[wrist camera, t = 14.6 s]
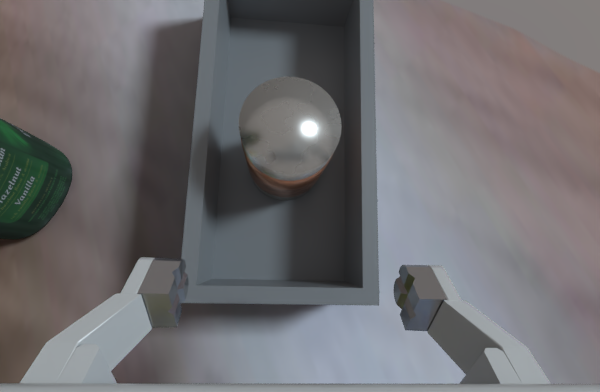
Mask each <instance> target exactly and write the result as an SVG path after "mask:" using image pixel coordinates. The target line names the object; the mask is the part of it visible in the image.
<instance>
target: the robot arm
mask: <svg viewBox="0 0 600 392" xmlns="http://www.w3.org/2000/svg"><path fill="white" fill-rule="evenodd" d="M185 268H186V263H185V260H184V259H174V258H150V257H141V258H140V259H139V260H138V261H137V263H136V264H135V266H134V268H133V270H132V272H131V274H130V276H129V278H128V279H127V281H126V283H125V285H124V287H123V289H122V291H121V293H120V294H114V295H113V296H112V297H110V298H109V299H107V300H106V301H104V302H103V303H102V304H100V305H99V306H97V307H96V308H95V309H93V310H92V311H90V312H89V313H87V314H86V315H85V316H83V317H82V318H80V319H79V320H78V321H76V322H75V323H73V324H72V325H70V326H69V327H68V328H66V329H65V330H63V331H62V332H61V333H59V334H58V335H56V336H55V337H53V338H52V339H51V340H49V341H48V342H46V344H45V345H44V347H43V348H42V350H41V352H40V353H39V355H38V356H37V358H36V359H35V361H34V362H33V364H32V365H31V367H30V368H29V370H28V371H27V373H26V374H25V376H24V377H23V379H22V380H21V382H20V383H0V392H600V384H551V383H550V382H549V380H548V378H547V377H546V375H545V374H544V372H543V371H542V369H541V368H540V366H539V365H538V363H537V361H536V360H535V358H534V357H533V355H532V354H531V352H530V351H529V349H528V348H527V347H526V346H525V345H523V344H522V343H521V342H520V341H518V340H517V339H516V338H514V337H513V336H512V335H510V334H509V333H508V332H506V331H505V330H504V329H502V328H501V327H500V326H498V325H497V324H496V323H494V322H493V321H492V320H491V319H489V318H488V317H487V316H485V315H484V314H483V313H481V312H480V311H479V310H477V309H476V308H475V307H473V306H472V305H471V304H469V303H468V302H467V301H462V300H461V298H460V296H459V294H458V292H457V291H456V289H455V287H454V285H453V283H452V281H451V280H450V278H449V276H448V274H447V272H446V271H445V269H444V267H442V266H433V265H428V266H427V265H402V266H401V267H400V270H399V274H400V277H399V278H397V279H396V281H395V284H394V297H395V301H396V304H397V305H398V306H399V307H400V308H401V309H402V310H401V313H400V316H401V319H402V322H403V325H404V328H405V330H414V331H428V333H429V335H430V336H431V337H432V338H433V339H434V340H435V341H436V342H437V343H438V344H439V345H440V347H441V348H442V349H443V350H444V351H445V352H446V353H447V354H448V355H449V356H450V357H451V359H452V360H453V361H454V362H455V363H456V364H457V365H458V366H459V367H460V368H461V369H462V370H463V372H464V373H465V374H466V376H465V377H464V378H463V380H462V381H461V382H460V384H117V382H116V380H115V378H114V376H113V374H112V372H111V370H112V369H113V368H114V367H115V366H116V365H117V364H118V363H119V362H120V361H121V360H122V359H123V358H124V357H125V356H126V355H127V354H128V353H129V352H130V351H131V350H132V349H133V348H134V347H135V346H136V345H137V344H138V343H139V342H140V341H141V340H142V339H143V338H144V337H145V336H146V335H147V334H148V333H149V332H150V330H151V329H152V327H177V325H178V322H179V319H180V315H181V312H182V308H181V303H182V302H184V301H185V300H186V296H187V293H188V286H189V279H188V274H187V273H185V272H184V271H185Z"/></svg>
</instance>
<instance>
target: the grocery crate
mask: <svg viewBox="0 0 600 392" xmlns="http://www.w3.org/2000/svg"><path fill="white" fill-rule="evenodd" d="M278 77H299V78H303V79H306V80H309V81H311V82H313V83H315V84H317V85H318V86H320V87H321V88H323V89H324V90H325V91H326V92H327V93H328V94H329V95H330V96H331V98H332V99H333V100H334V102H335V104H336V106H337V108H338V110H339V113H340V117H341V126H342V127H341V136H340V140H339V143H338V145H337V147H336V149H335V151H334V153H333V155H332V157H331V159H330V161H329V163H328V164H327V166H326V167H325V169H324V171H323V172H322V174H321V175H320V177H319V179H318V180H317V182H316V183H315V184H314V185H313V187H312V188H311V189H310V190H309V191H308V192H307V193H306V194H304V195H303V196H301V197H299V198H296V199H293V200H277V199H274V198H271V197H269V196H267V195H265V194H264V193H262V192H261V191H260V190H259V189H258V188H257V186H256V185H255V183H254V182H253V179H252V177H251V175H250V172H249V169H248V165H247V162H246V158H245V155H244V151H243V147H242V143H241V137H240V132H239V115H240V111H241V108H242V105H243V103H244V101H245V100H246V98H247V97H248V95H249V94H250V93H251V92H252V91H253V90H254V89H255V88H256V87H258V86H259V85H261V84H262V83H264V82H266V81H268V80H271V79H274V78H278ZM181 259H184V260H185V263H186V268H185V271H184V272H185V273H187V274H188V279H189V286H188V293H187V296H186V300H185V301H184V302H182V303H225V304H306V305H379V272H378V221H377V169H376V117H375V66H374V14H373V0H205V1H204V12H203V23H202V34H201V45H200V56H199V67H198V78H197V89H196V100H195V111H194V123H193V134H192V145H191V156H190V167H189V178H188V189H187V200H186V211H185V222H184V233H183V244H182V255H181Z"/></svg>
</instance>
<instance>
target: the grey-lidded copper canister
mask: <svg viewBox="0 0 600 392" xmlns="http://www.w3.org/2000/svg"><path fill="white" fill-rule="evenodd" d="M341 127H342V126H341V117H340V113H339V110H338V108H337V106H336V104H335V102H334V100H333V99H332V98H331V96H330V95H329V94H328V93H327V92H326V91H325V90H324V89H323V88H321V87H320V86H318V85H317V84H315V83H313V82H311V81H309V80H306V79H303V78H299V77H278V78H274V79H271V80H268V81H266V82H264V83H262V84H261V85H259V86H258V87H256V88H255V89H254V90H253V91H252V92H251V93H250V94H249V95H248V97H247V98H246V100H245V101H244V103H243V105H242V108H241V111H240V115H239V132H240V137H241V143H242V147H243V151H244V155H245V158H246V162H247V165H248V169H249V172H250V175H251V177H252V179H253V182H254V183H255V185H256V186H257V188H258V189H259V190H260V191H261V192H262V193H264V194H265V195H267V196H269V197H271V198H274V199H277V200H293V199H296V198H299V197H301V196H303V195H304V194H306V193H307V192H308V191H309V190H310V189H311V188H312V187H313V185H314V184H315V183H316V182H317V180H318V179H319V177H320V175H321V174H322V172H323V171H324V169H325V167H326V166H327V164H328V163H329V161H330V159H331V157H332V155H333V153H334V151H335V149H336V147H337V145H338V143H339V140H340V136H341Z"/></svg>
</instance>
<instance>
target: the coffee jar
mask: <svg viewBox="0 0 600 392" xmlns="http://www.w3.org/2000/svg"><path fill="white" fill-rule="evenodd" d="M71 181H72V168H71V164H70V162H69V160H68V159H67V157H66V156H65V155H64V154H63V153H62V152H61V151H59V150H58V149H56V148H55V147H53V146H51V145H50V144H48V143H46V142H45V141H43V140H41V139H39V138H37V137H35V136H33V135H31V134H29V133H28V132H26V131H24V130H22V129H20V128H18V127H16V126H14V125H12V124H10V123H8V122H6V121H4V120H3V119H1V118H0V239H20V238H24V237H28V236H30V235H33V234H34V233H36V232H38V231H39V230H41V229H42V228H43V227H44V226H45V225H46V224H47V223H48V222H49V221H50V220H51V218H52V217H53V216H54V215H55V213H56V212H57V210H58V209H59V207H60V206H61V204H62V203H63V201H64V199H65V197H66V195H67V193H68V190H69V187H70V184H71Z"/></svg>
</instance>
